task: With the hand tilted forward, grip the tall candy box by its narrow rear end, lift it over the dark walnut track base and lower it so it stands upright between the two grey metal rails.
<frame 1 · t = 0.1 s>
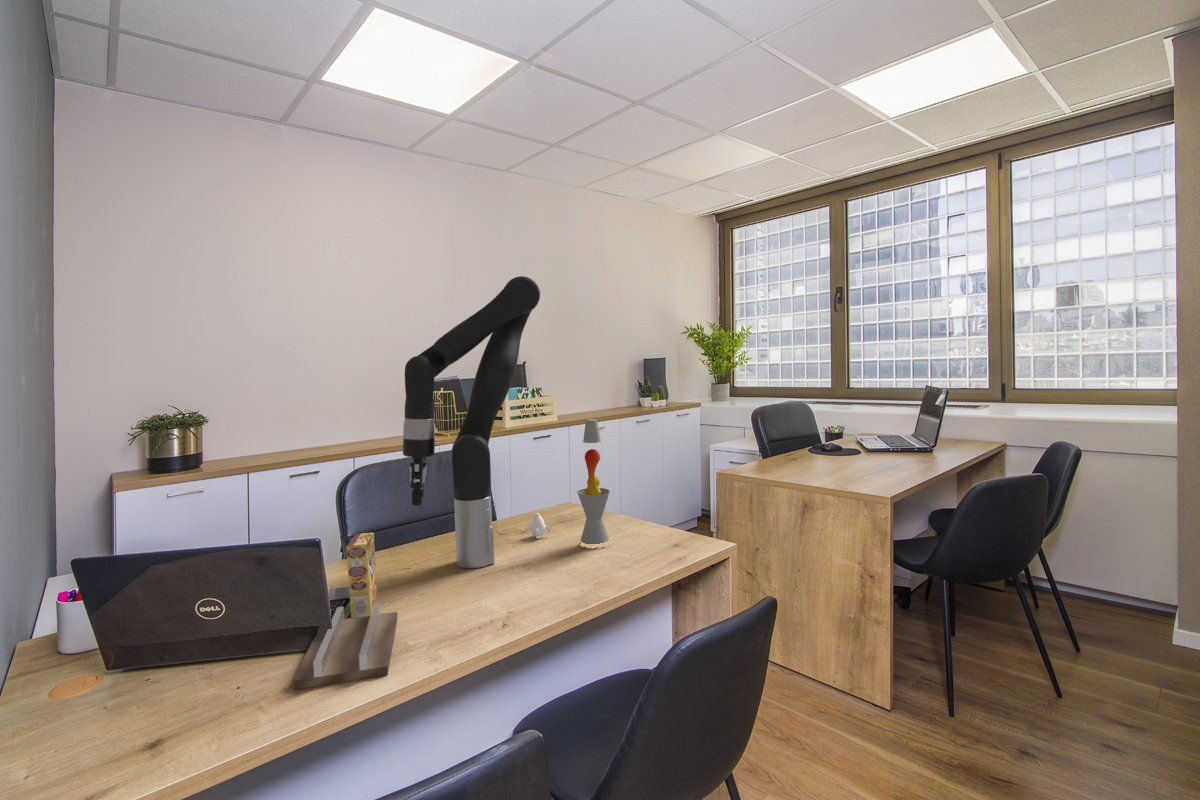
hand: (417, 501, 144), 17 cm above the table, tool pointing down, fingers open, 8 cm apart
candy box: (364, 611, 121), on the table
track base: (351, 650, 104), on the table
rocket toy: (538, 538, 169), on the table
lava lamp: (595, 544, 161), on the table
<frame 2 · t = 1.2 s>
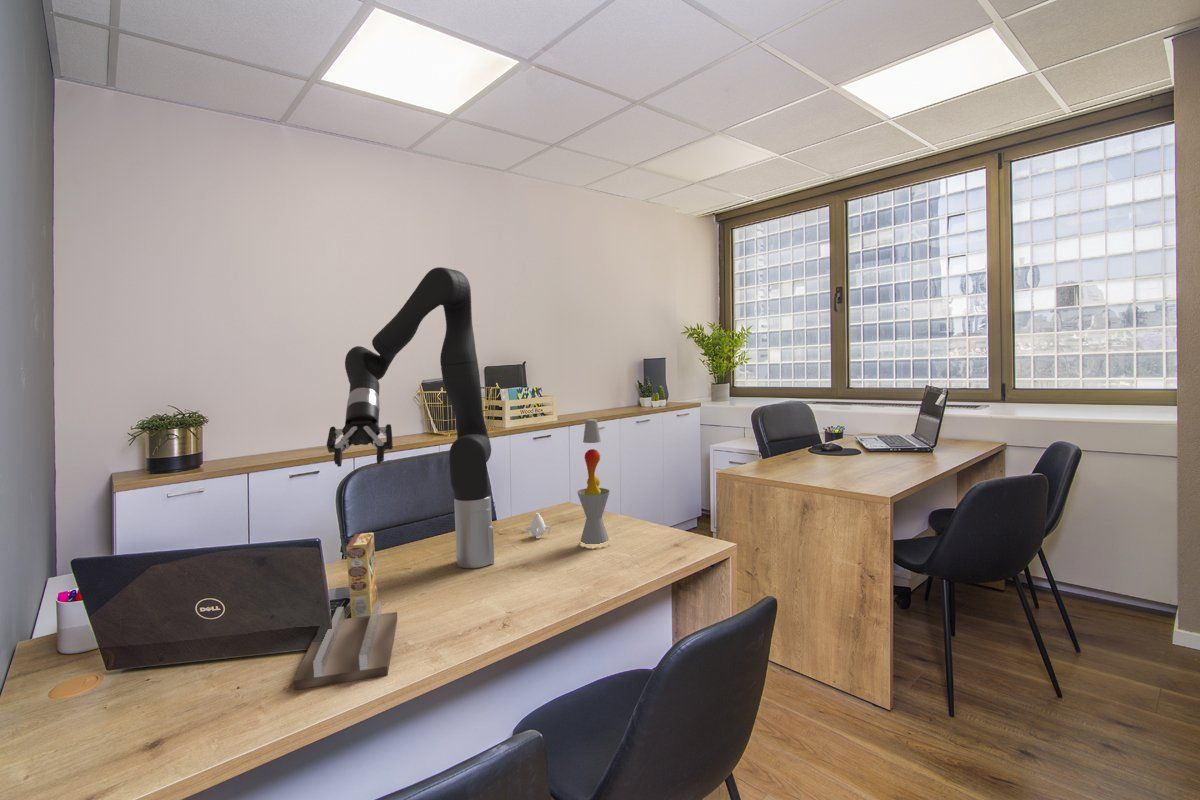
hand: (359, 463, 133), 29 cm above the table, tool tilted 45°, fingers open, 8 cm apart
nothing on the table moved.
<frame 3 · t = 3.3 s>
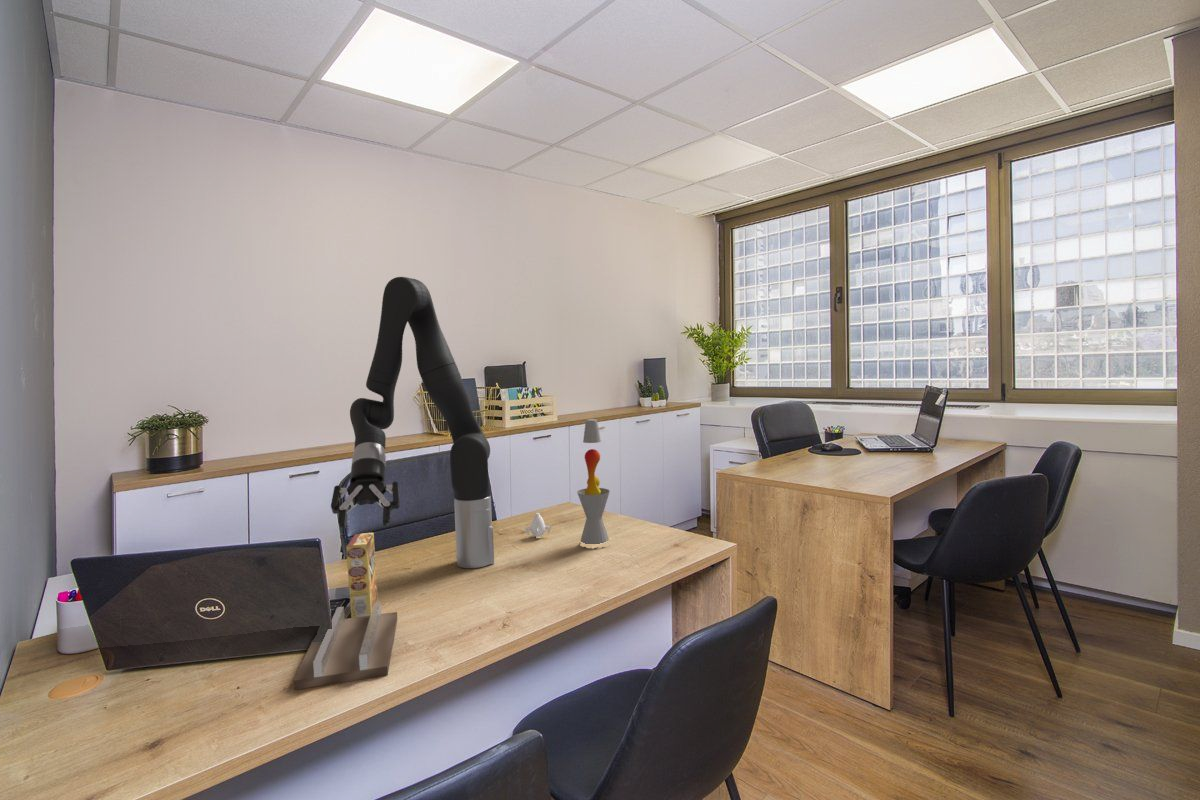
hand: (364, 525, 127), 16 cm above the table, tool tilted 45°, fingers open, 8 cm apart
nothing on the table moved.
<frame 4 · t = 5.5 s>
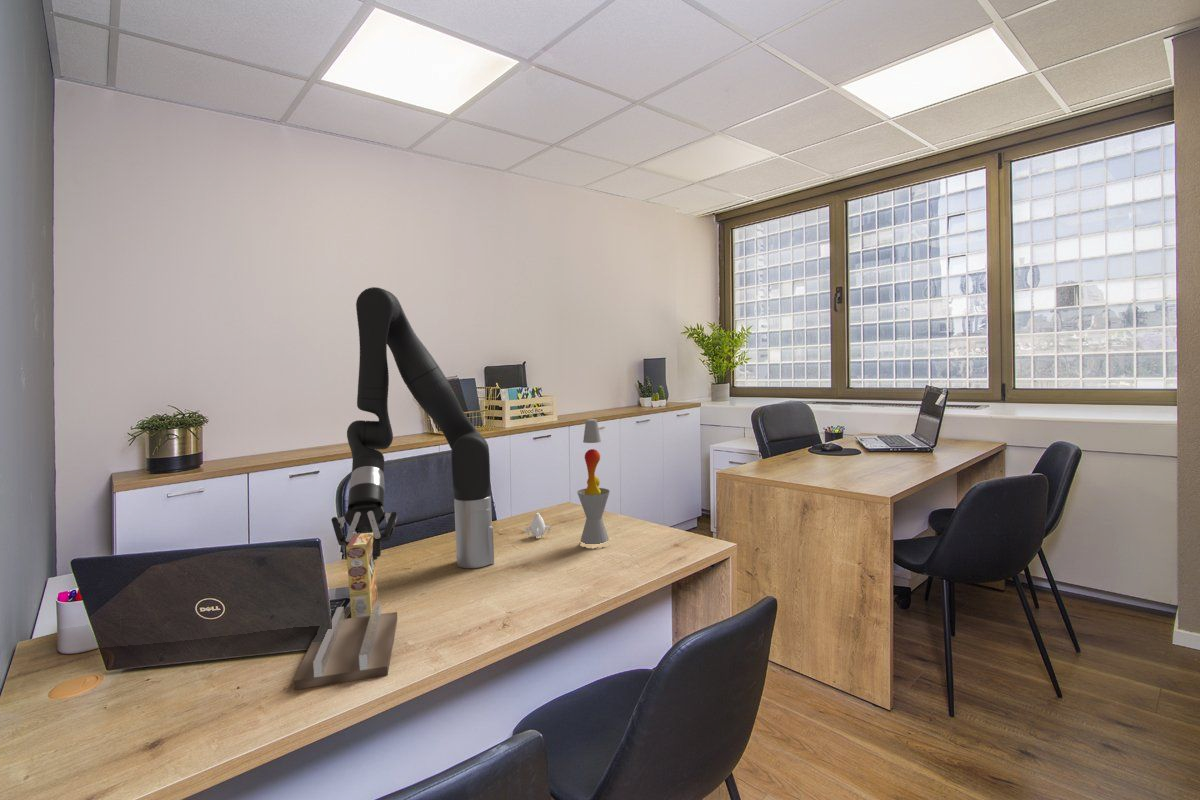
hand: (362, 558, 122), 11 cm above the table, tool tilted 45°, fingers closed on candy box, 4 cm apart
candy box: (364, 611, 121), on the table, touching gripper
everything else where it was.
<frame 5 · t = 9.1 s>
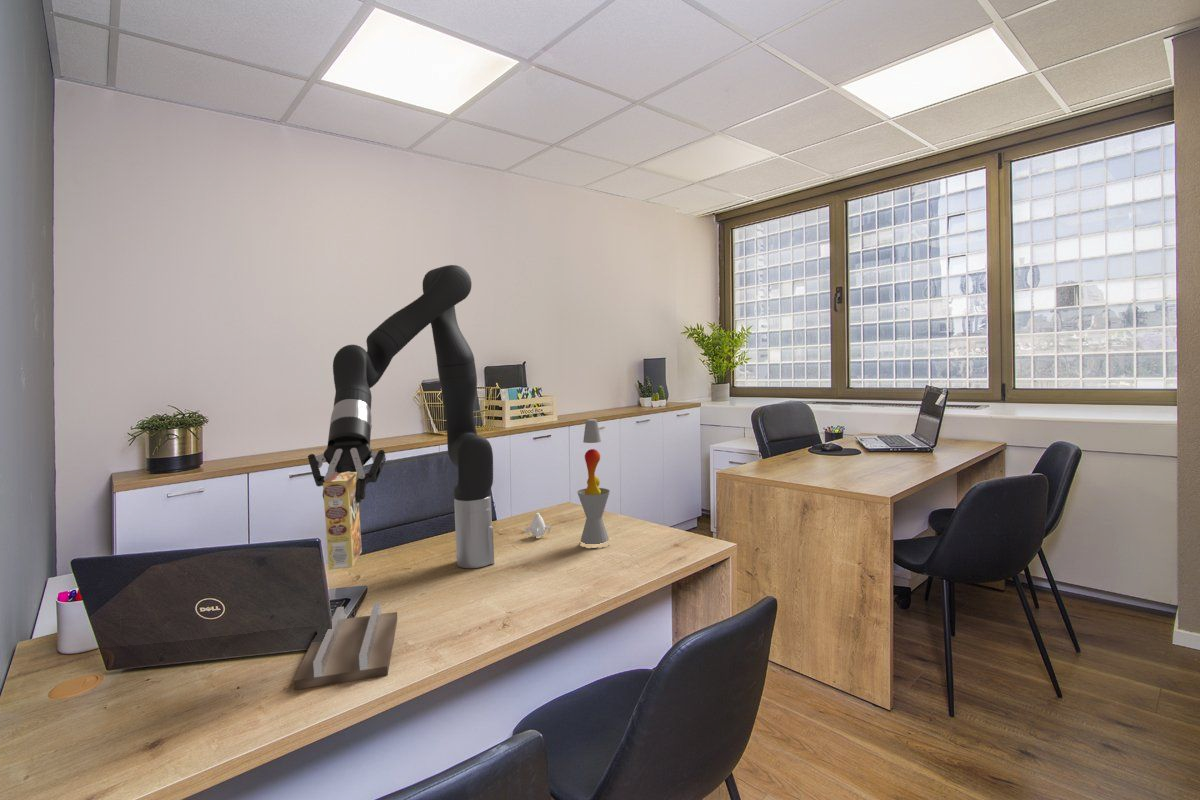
hand: (343, 501, 103), 27 cm above the table, tool tilted 45°, fingers closed on candy box, 4 cm apart
candy box: (345, 562, 103), point 16 cm above the table, touching gripper
everything else where it was.
when the fingers open (13 cm above the table, at t = 12.7 s): candy box drops 1 cm, resting on track base.
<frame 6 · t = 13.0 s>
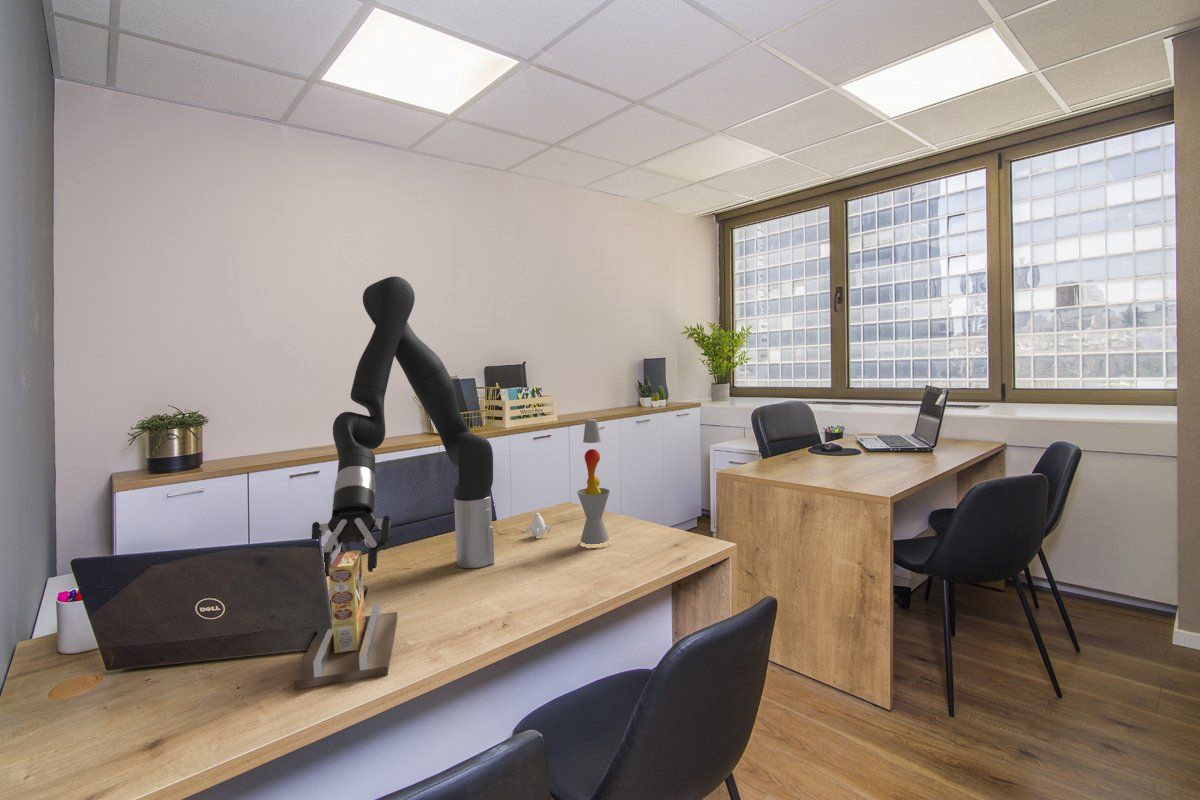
hand: (348, 572, 104), 14 cm above the table, tool tilted 45°, fingers open, 6 cm apart
candy box: (350, 642, 104), point 1 cm above the table, touching track base
everything else where it was.
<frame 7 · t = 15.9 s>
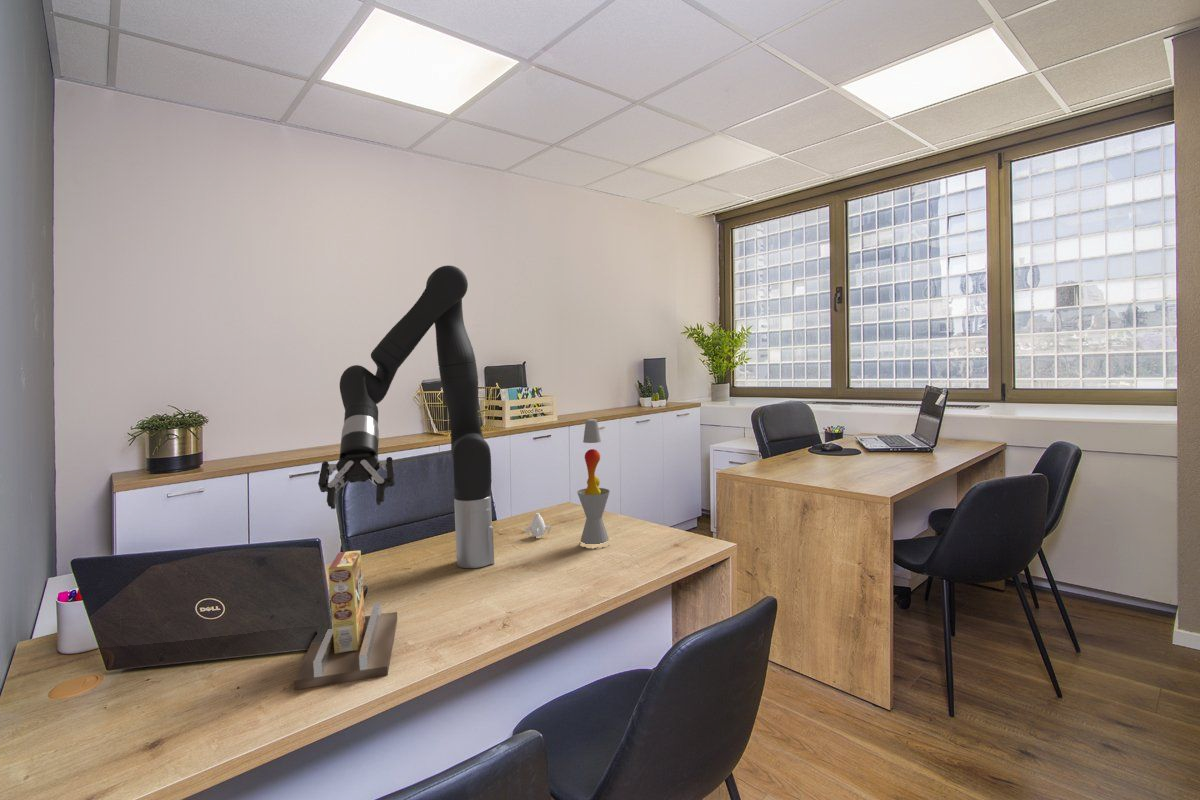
hand: (355, 504, 115), 24 cm above the table, tool tilted 45°, fingers open, 8 cm apart
nothing on the table moved.
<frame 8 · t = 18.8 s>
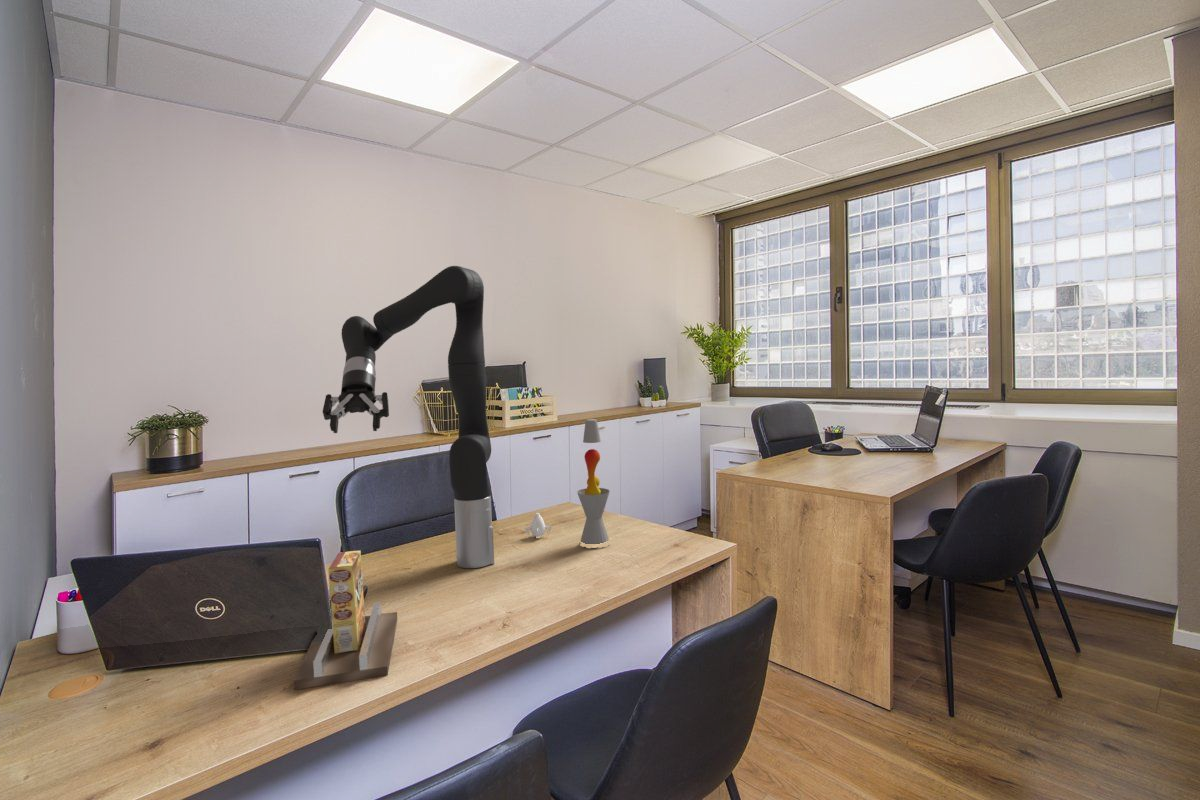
hand: (355, 429, 132), 37 cm above the table, tool tilted 45°, fingers open, 8 cm apart
nothing on the table moved.
at the end: candy box inside the target area on the track base (0.5 cm from its centre), point 1.3 cm above the track base's base; candy box tilted 0°; the gripper is holding nothing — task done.
